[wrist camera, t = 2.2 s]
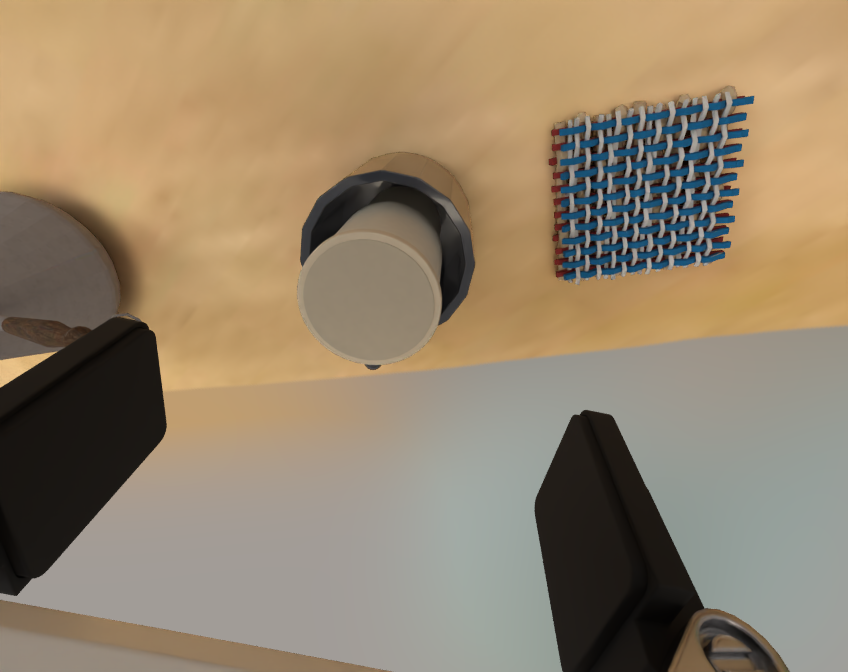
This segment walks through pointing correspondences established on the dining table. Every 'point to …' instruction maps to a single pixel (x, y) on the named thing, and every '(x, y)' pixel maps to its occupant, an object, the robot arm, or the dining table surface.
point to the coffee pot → (50, 278)
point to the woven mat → (644, 187)
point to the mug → (414, 174)
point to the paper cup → (377, 280)
